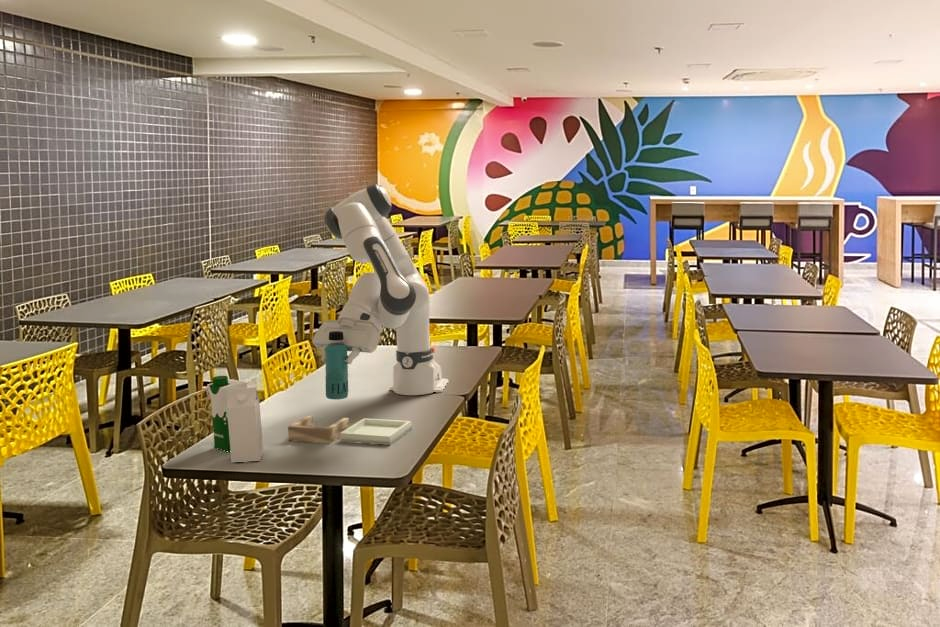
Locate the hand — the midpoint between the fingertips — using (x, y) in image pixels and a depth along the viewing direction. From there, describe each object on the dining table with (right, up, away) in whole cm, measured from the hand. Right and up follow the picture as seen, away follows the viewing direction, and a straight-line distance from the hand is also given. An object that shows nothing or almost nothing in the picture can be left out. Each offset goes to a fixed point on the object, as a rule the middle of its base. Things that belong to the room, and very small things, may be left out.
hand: (335, 361), depth 243 cm
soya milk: (-28, -23, -3) cm, 36 cm away
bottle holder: (-5, -21, +5) cm, 22 cm away
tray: (+11, -21, +2) cm, 24 cm away
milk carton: (-21, -25, -14) cm, 35 cm away
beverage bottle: (0, -11, +2) cm, 12 cm away
